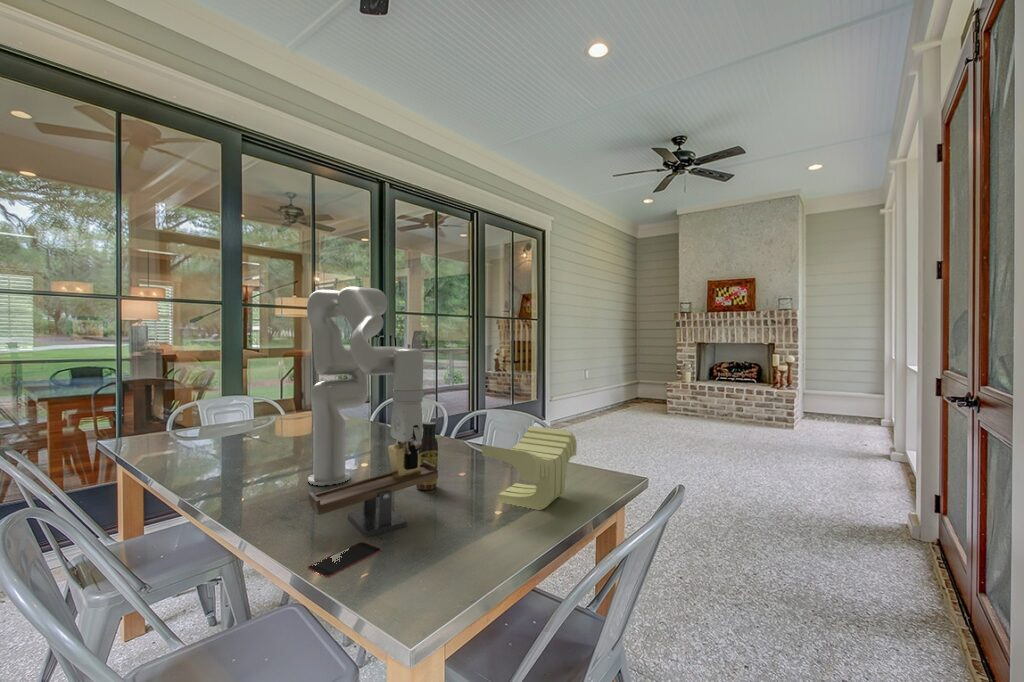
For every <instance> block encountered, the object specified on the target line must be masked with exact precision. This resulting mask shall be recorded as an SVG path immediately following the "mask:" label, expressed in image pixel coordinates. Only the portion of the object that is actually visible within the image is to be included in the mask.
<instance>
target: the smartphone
mask: <svg viewBox="0 0 1024 682" xmlns="http://www.w3.org/2000/svg"><path fill="white" fill-rule="evenodd" d="M349 547H350V548H349ZM349 547H348V548H349V550H348V551H346V552H345V551H344V552H345V553H344V552H343V554H342V553H341V555H340V556H342V558H341V557H340V562H339V560H338V561H336V562H335V563H334V561H333V562H332V558H330V557H331V556H332V555H333V554H332V555H329V556H327V557H325V558H322V559H320V560H318V561H316V562H315V563H312V564H310V565H311V566H310V565H308V566H307V570H309V569H310V570H309V571H311V570H312V571H311V572H313V571H314V572H313V573H315V572H317V573H319V574H320V575H319V574H318V575H319V576H321V575H323V576H325V577H324V578H330V576H331V577H333V576H335V575H337V574H339V573H340V571H341V572H343V571H345V570H347V569H349V568H350V567H353V566H354V565H356V564H358V563H360V562H362V561H364V560H366V559H368V558H370V557H372V556H374V555H376V554H379V553H380V552H382V548H380V547H378V546H376V545H372V544H370V543H367V542H364V541H361V542H357V543H356V544H353V545H351V546H349ZM326 558H327V559H326ZM338 559H339V558H338ZM321 560H322V562H321ZM336 560H337V559H336ZM319 561H320V562H319ZM316 563H317V565H316V566H315V565H313V564H316ZM318 563H319V564H318ZM336 563H337V564H336ZM312 565H313V566H312ZM346 568H347V569H346ZM344 569H345V570H344ZM338 572H339V573H338ZM317 573H316V574H317ZM336 573H337V574H336ZM334 574H335V575H334ZM332 575H333V576H332ZM323 576H322V577H323Z"/></svg>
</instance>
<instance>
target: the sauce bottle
mask: <svg viewBox="0 0 1024 682" xmlns="http://www.w3.org/2000/svg"><path fill="white" fill-rule="evenodd" d="M422 426H423V429H422V439H421V441H422V445H421V446H420V448H419V460H420V464H422V461H424V460H425V461H427V462H429V463H431V464H433V465H435V466H436V469H437V470H438V465H439V463H438V460H439V443H438V441H437V439H436V427H437V423H436V422H433V421H424V422H422ZM437 483H438V478H436V479H433V480H430V481H427V482H423V483H420V484H417V485H415V486H416V489H418V490H420V491H421V490H422V491H430V490H434V489H435V488H436V486H437Z"/></svg>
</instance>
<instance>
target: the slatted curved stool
mask: <svg viewBox="0 0 1024 682" xmlns="http://www.w3.org/2000/svg"><path fill="white" fill-rule="evenodd" d="M577 446H578V445H577V439H576V436H575V435H574V433H573V432H571V431H570V430H566V429H560V428H552V427H551V428H550V427H542V426H534V425H529V426H528V428H527V431H526V432H525V433H524V435H523V437H521V439H520V440H519V441H518V442H517V443H516V444H515V445H514V446H513V447H512V448H510V449H509V448H504V447H497V446H492V445H491V446H489V445H483V444H482V446H481V456H482V457H486V458H492V459H494V460H495V459H496V460H499V461H501V462H505V463H508V464H510V465H511V466H513V467H514V468H515V469H516V470H517V472H518V475H519V477H520V480H521V482H522V481H523V482H527V483H534V484H535V485H531V484H524V483H523V484H522V483H518V482H515V483H514V484H512V485H511V486H509V487H507V488H506V489H504V490H502V491H501V492H500V493H498V494H497V497H496V498H497V499H496V502H497V501H498V502H497V503H500V502H502V503H501V504H505V503H506V504H505V505H509V504H512V505H511V506H514V505H516V506H515V507H519V506H522V507H521V508H524V507H527V508H526V509H529V508H532V509H531V510H533V509H537V510H536V511H542V510H544V509H546V508H547V507H548V506H549V505H550V504H551V503H553V502H554V501H555V500H556V499H557V498H559V497H560V496H561V495H562V494H563V493H564V491H565V488H566V477H567V476H566V475H567V465H568V464H569V462H570V460H571V458H572V457H574V456H575V457H576V456H577Z"/></svg>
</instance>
